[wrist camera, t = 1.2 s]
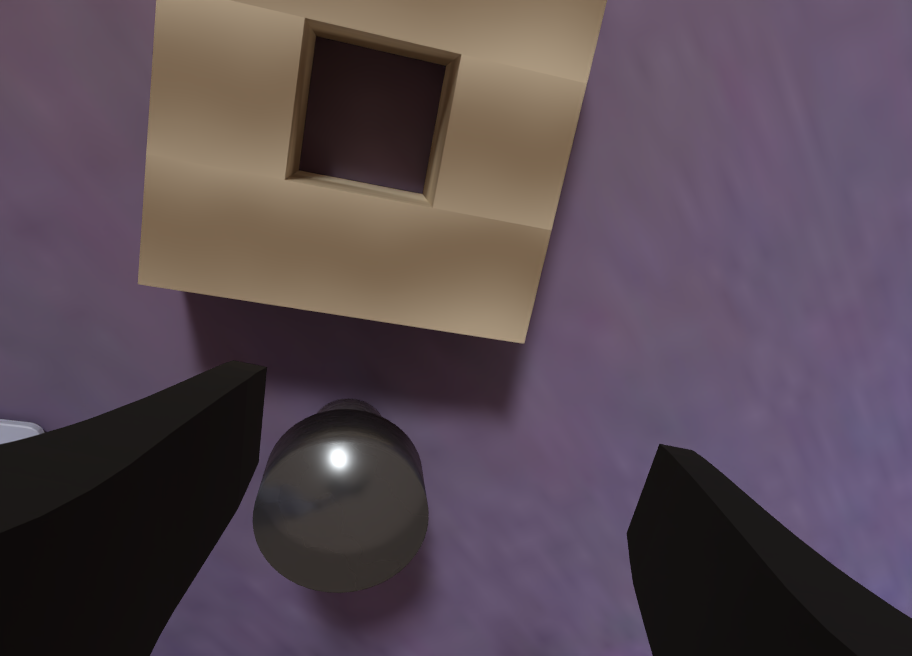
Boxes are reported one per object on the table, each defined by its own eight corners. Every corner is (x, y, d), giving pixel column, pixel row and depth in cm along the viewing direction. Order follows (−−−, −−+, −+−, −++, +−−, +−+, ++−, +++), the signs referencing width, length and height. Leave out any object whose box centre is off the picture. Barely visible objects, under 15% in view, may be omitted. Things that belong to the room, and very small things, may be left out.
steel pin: (403, 498, 27) (411, 598, 21) (271, 485, 26) (243, 585, 20) (426, 380, 26) (443, 453, 20) (287, 360, 25) (263, 432, 19)
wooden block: (500, 310, 25) (524, 343, 21) (176, 257, 23) (138, 284, 19) (577, -28, 22) (621, -59, 18) (207, -126, 20) (168, -185, 16)
